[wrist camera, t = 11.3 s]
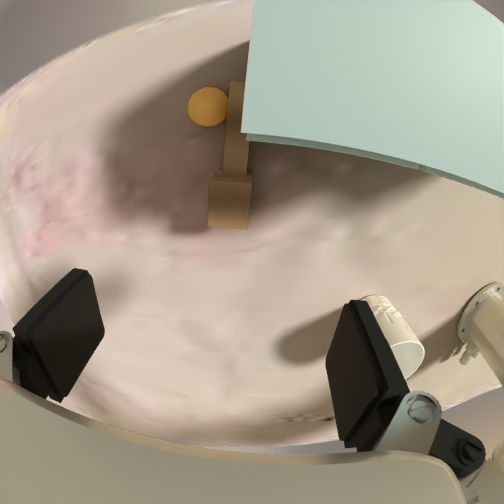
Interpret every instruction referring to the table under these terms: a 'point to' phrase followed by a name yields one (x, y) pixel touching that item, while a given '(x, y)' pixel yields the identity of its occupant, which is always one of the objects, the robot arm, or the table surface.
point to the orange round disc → (208, 106)
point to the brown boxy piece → (232, 170)
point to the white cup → (397, 334)
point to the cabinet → (382, 83)
